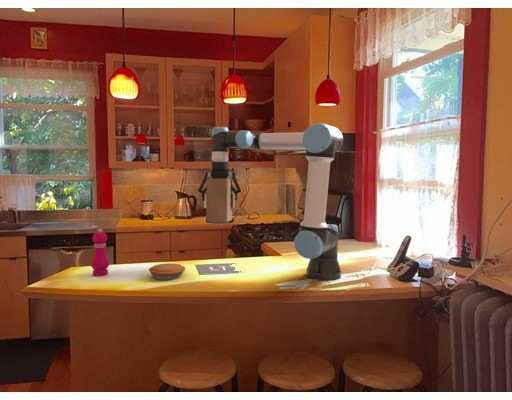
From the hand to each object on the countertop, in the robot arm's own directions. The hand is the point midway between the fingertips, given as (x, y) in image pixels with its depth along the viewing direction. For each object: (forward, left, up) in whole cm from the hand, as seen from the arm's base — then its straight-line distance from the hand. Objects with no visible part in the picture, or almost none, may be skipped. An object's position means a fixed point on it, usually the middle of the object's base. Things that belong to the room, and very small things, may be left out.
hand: (219, 208), depth 196 cm
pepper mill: (-2, +52, -29) cm, 59 cm away
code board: (0, 0, -28) cm, 28 cm away
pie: (-11, +24, -29) cm, 39 cm away
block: (0, 0, -7) cm, 7 cm away
